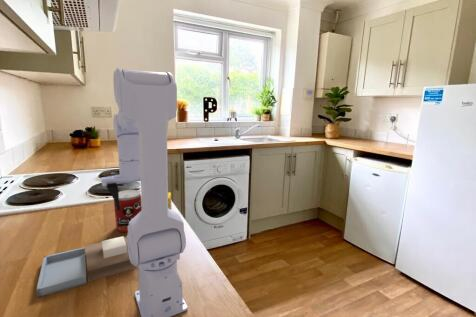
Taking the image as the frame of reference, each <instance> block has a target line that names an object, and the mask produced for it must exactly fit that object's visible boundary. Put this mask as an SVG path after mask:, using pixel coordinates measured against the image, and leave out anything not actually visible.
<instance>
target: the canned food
mask: <svg viewBox="0 0 476 317" xmlns="http://www.w3.org/2000/svg"><path fill="white" fill-rule="evenodd" d="M119 204H120V211H117V208H116V204H115V201H114V200H113V205H114V216H115V226H116V230H118V232H120V233H128V225H129V222H130V221H131V220H132V219H133V218H134V217H135V216H136V215H137V214H138V213H139V212H140V211H141V210H142V199H141V190H137V189H125V190H120V191H119Z"/></svg>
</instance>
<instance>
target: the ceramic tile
mask: <svg viewBox="0 0 476 317" xmlns="http://www.w3.org/2000/svg"><path fill="white" fill-rule="evenodd" d="M124 237H125V236H124V235H123V236H122V235H121V236H119V237H118V236H117V237H114V238H109V239H105V240H101V242H102V250H103V256H104V258H108V257H112V256H116V255H119V254H123V253H127V247H126V243H125V240H124Z"/></svg>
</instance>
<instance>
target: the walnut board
mask: <svg viewBox="0 0 476 317" xmlns="http://www.w3.org/2000/svg"><path fill="white" fill-rule="evenodd" d="M123 237H124V240H125V243H126V247H127V253H123V254H119V255H116V256H112V257H108V258H104V256H103V250H102V241H100V242H95V243H91V244H87V245H85V257H86V277H87V282H91V281H95V280H98V279H102V278H105V277H108V276H109V277H110V276H113V275H116V274H120V273H122V272H126V271H130V270H134V269H136V268H137V269H138V265H137V266H134V265H133V264H131V262H130V259H129V253H128V245H127V235H126V236H123Z"/></svg>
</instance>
